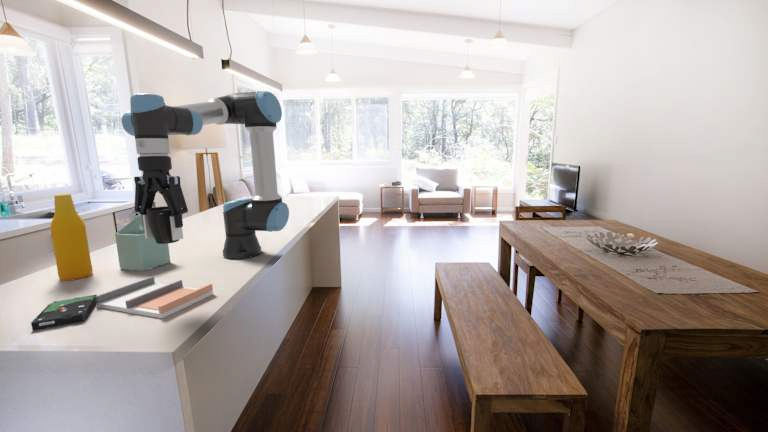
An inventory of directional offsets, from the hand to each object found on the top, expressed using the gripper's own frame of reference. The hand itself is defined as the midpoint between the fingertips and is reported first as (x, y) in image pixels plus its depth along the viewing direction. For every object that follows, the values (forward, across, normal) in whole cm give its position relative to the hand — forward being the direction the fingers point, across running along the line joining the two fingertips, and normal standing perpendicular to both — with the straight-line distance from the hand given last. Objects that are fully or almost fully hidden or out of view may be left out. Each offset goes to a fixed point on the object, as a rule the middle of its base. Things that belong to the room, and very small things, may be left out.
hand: (164, 238), depth 99 cm
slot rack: (+19, -6, 0) cm, 20 cm away
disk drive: (+20, -20, -14) cm, 32 cm away
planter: (+19, -39, +22) cm, 49 cm away
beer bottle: (+19, -54, +8) cm, 58 cm away
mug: (+2, +1, 0) cm, 2 cm away
